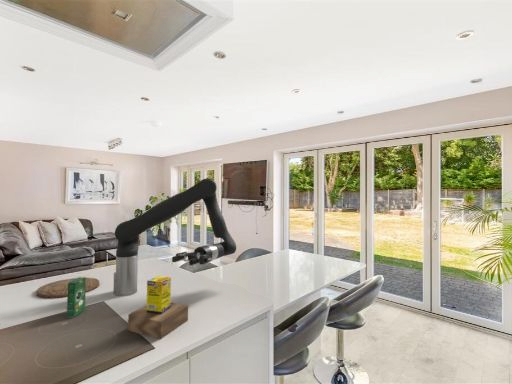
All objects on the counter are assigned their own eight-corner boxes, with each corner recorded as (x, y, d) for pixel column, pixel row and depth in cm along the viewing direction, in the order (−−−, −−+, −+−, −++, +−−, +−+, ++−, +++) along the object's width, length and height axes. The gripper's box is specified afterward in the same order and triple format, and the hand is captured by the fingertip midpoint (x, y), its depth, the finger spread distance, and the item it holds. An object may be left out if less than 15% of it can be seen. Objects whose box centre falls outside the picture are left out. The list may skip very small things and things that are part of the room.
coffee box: (78, 309, 108) (78, 276, 108) (85, 308, 108) (86, 275, 108) (66, 318, 100) (66, 282, 100) (74, 318, 100) (75, 282, 100)
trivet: (97, 293, 126) (97, 289, 126) (28, 302, 115) (29, 298, 115) (101, 278, 148) (101, 275, 148) (44, 285, 137) (44, 281, 137)
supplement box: (161, 314, 92) (162, 281, 92) (146, 312, 93) (146, 280, 93) (170, 307, 97) (171, 276, 98) (155, 305, 99) (156, 275, 99)
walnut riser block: (128, 332, 91) (128, 314, 91) (157, 315, 104) (157, 299, 104) (160, 340, 86) (161, 321, 86) (187, 322, 99) (188, 305, 99)
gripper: (193, 243, 124) (167, 249, 109) (219, 247, 117) (196, 253, 103) (192, 260, 123) (167, 268, 109) (219, 264, 117) (195, 273, 103)
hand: (181, 261), depth 106 cm, fingers open, 8 cm apart
